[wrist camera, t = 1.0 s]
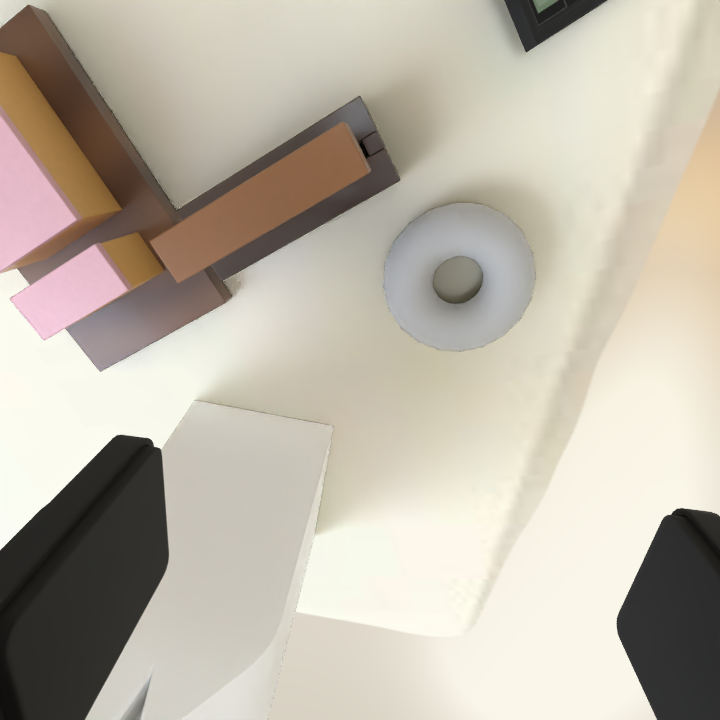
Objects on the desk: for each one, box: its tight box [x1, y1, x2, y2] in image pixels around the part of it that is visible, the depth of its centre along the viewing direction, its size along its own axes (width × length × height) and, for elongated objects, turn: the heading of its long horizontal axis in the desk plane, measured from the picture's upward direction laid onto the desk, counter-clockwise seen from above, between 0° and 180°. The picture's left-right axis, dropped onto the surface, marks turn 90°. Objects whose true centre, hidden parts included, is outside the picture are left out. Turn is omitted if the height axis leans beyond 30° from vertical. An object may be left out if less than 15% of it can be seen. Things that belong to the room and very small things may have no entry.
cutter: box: [150, 122, 371, 283], centre depth 27 cm, size 2×11×10 cm, turn 119°
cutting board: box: [0, 5, 232, 372], centre depth 33 cm, size 20×12×2 cm, turn 29°
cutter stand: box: [176, 96, 400, 281], centre depth 30 cm, size 5×13×4 cm, turn 119°
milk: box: [85, 400, 334, 720], centre depth 30 cm, size 12×12×26 cm
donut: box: [383, 202, 536, 352], centre depth 32 cm, size 10×4×10 cm
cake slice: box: [10, 232, 164, 340], centre depth 31 cm, size 3×7×5 cm, turn 119°
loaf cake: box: [0, 52, 122, 274], centre depth 29 cm, size 10×7×5 cm
